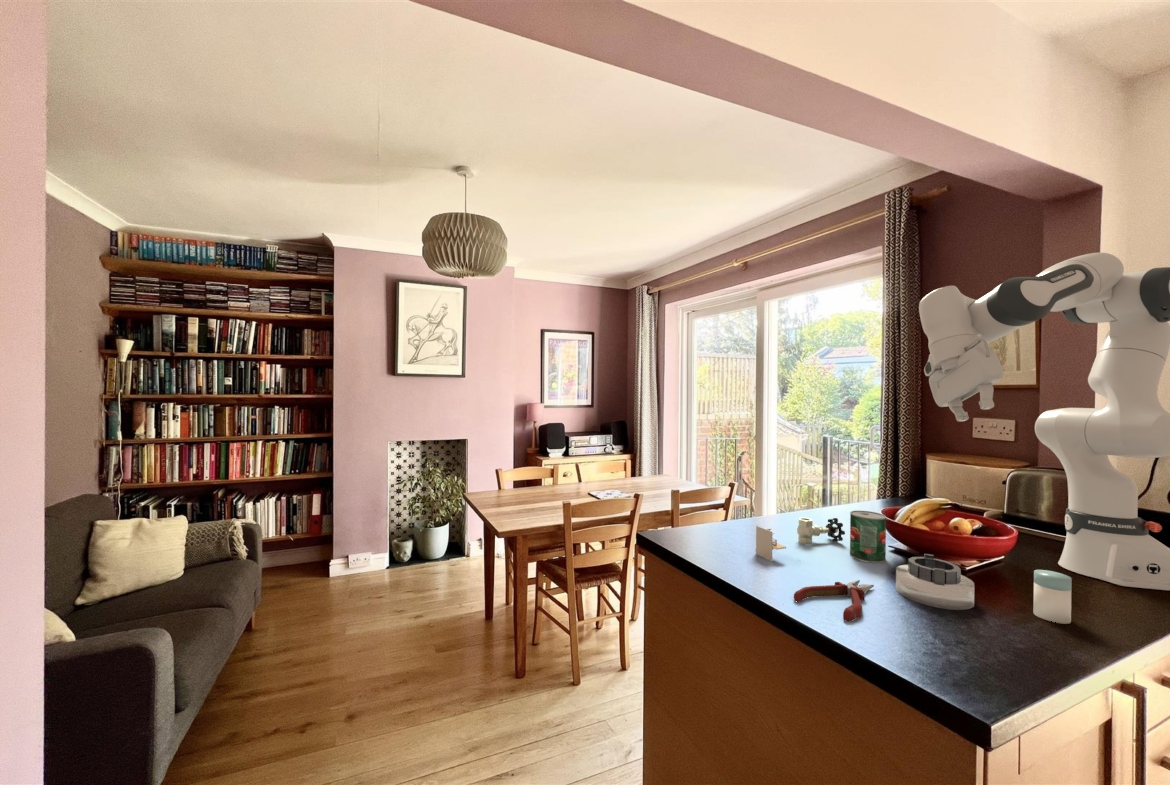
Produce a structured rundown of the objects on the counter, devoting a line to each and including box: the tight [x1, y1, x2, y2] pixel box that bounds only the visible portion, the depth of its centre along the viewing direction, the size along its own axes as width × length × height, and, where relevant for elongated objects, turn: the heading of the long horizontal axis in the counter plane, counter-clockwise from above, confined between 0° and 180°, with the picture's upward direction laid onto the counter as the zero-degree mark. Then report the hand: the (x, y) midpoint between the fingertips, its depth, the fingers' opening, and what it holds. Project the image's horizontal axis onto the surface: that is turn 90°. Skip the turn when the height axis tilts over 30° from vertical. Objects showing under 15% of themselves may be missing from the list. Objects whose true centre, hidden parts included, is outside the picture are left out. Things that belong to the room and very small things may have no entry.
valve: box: [796, 517, 846, 545], centre depth 131 cm, size 7×7×12 cm
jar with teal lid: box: [1032, 569, 1073, 625], centre depth 88 cm, size 5×5×8 cm
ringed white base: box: [895, 553, 975, 611], centre depth 98 cm, size 13×16×7 cm
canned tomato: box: [849, 510, 887, 564], centre depth 119 cm, size 8×8×11 cm
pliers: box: [793, 579, 875, 622], centre depth 95 cm, size 12×20×3 cm, turn 126°
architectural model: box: [755, 525, 787, 562], centre depth 118 cm, size 3×7×7 cm, turn 21°
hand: (975, 414), depth 99 cm, fingers open, 8 cm apart
